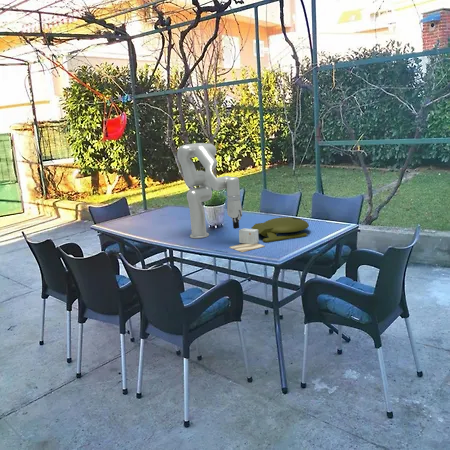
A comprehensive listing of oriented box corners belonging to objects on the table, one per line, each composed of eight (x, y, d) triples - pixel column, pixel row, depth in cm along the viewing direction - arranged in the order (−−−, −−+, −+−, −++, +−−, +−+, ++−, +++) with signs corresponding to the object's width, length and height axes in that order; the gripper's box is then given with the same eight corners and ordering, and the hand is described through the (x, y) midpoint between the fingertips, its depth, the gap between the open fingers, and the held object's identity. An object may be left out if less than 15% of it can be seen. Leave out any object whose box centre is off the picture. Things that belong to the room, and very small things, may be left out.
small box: (243, 240, 290) (258, 242, 285) (239, 242, 285) (254, 244, 280) (242, 228, 288) (258, 229, 283) (238, 229, 283) (254, 231, 278)
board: (229, 247, 280) (229, 246, 279) (251, 242, 287) (251, 241, 287) (242, 252, 268) (241, 251, 268) (265, 246, 275) (265, 245, 275)
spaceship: (264, 243, 283) (263, 227, 281) (248, 232, 312) (247, 218, 310) (317, 235, 292) (317, 220, 289) (297, 225, 321) (296, 211, 318)
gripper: (222, 197, 285) (224, 227, 289) (235, 200, 272) (237, 231, 276) (232, 195, 288) (235, 225, 292) (246, 198, 276) (248, 229, 280)
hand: (236, 228), depth 284 cm, fingers closed
